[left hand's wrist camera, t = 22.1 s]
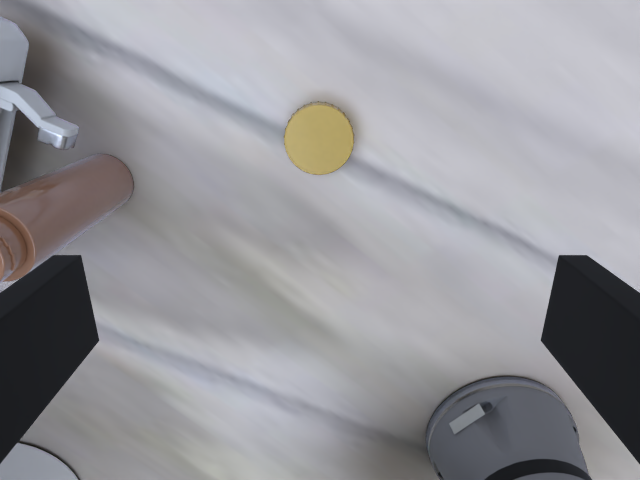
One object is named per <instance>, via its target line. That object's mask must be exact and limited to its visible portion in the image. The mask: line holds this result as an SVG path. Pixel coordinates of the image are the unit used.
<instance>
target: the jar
mask: <svg viewBox="0 0 640 480" xmlns="http://www.w3.org/2000/svg"><path fill="white" fill-rule="evenodd" d="M132 192H133V179H132V176H131V173H130V171H129V170H128V168H127V167H126V166H125V165H124V164H123V163H122V162H121V161H120V160H118V159H117V158H115V157H113V156H110V155H106V154H95V155H91V156H89V157H86V158H84V159H81V160H79V161H76V162H74V163H71V164H69V165H67V166H64V167H62V168H59V169H57V170H54V171H52V172H49V173H47V174H44V175H42V176H40V177H37V178H35V179H32V180H30V181H27V182H25V183H22V184H20V185H17V186H15V187H13V188H10V189H8V190H5V191H3V192H0V283H1V282H4V281H13V280H17V279H19V278H21V277H23V276H25V275H26V274H28V273H29V272H30V271H32V270H33V269H35V268H36V267H37V266H39V265H40V264H41V263H43V262H44V261H46V260H47V259H48V258H50V257H51V256H53V255H54V254H55V253H57V252H58V251H59V250H61V249H62V248H64V247H65V246H66V245H68V244H69V243H71V242H72V241H73V240H75V239H76V238H77V237H79V236H80V235H82V234H83V233H84V232H86V231H87V230H89V229H90V228H91V227H93V226H94V225H95V224H97V223H98V222H100V221H101V220H102V219H104V218H105V217H106V216H108V215H109V214H111V213H112V212H113V211H115V210H116V209H118V208H119V207H120V206H122V205H123V204H124V203H126V202H127V201H128V200H129V198H130V197H131V195H132Z"/></svg>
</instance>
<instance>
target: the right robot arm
mask: <svg viewBox="0 0 640 480" xmlns="http://www.w3.org/2000/svg"><path fill="white" fill-rule="evenodd" d="M28 48H29V42H28V40H27V38H26V37H25V35H24V34H23V32H22V31H21V30H20V28H19V27H18V25H17V24H15V23H14V22H12V21H10V20H8V19H5V18H3V17H0V192H1V187H2V181H3V176H4V171H5V166H6V161H7V156H8V151H9V146H10V140H11V135H12V130H13V125H14V120H15V115H16V111H18V110H21V111H22V112H23V113H24V114H25V115H26V116H27V117H28V118H29V119H30V120H31V121H32V122H33V123H34V124H35V125H36V126H37V127H38V128H39V132H38V138H37V140H38V141H41V142H43V143H45V144H50V143H51V144H52V145H53V147H55V148H58V149H61V150H68V149H69V148H70V147H71V148H73V147H74V145H75V142H76V138H77V135H78V131H79V127H78V126H77V125H75V124H73V123H70V122H68V121H66V120H63V119H61V118H59V117H56V114H55V112H54V111H53V110H52V109H51V108H50V107H49V105H48V104H47V103H46V102H45V101H44V100H43V98H42V97H41V96H40V95H39V94H38V93H37V91H36V90H34V89H32V88H29V87H27V86H25V85H22V79H23V73H24V68H25V63H26V58H27V53H28ZM0 480H78V478H77V477H76V475H75V474H74V473H73V472H72V471H71V470H70V468H69V467H67V466H66V465H65V464H64V463H63V462H62V461H60V460H59V459H57V458H56V457H54V456H53V455H51V454H49V453H47V452H45V451H43V450H40V449H38V448H35V447H32V446H29V445H25V444H21V443H17V444H16V445H15V446H14V447H13V449H12V450H11V451H10V452H9V454H8V455H7V456H6V457H5V459H4V460H3V461H2V462H1V464H0Z"/></svg>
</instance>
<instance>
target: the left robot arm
mask: <svg viewBox="0 0 640 480" xmlns="http://www.w3.org/2000/svg"><path fill="white" fill-rule="evenodd" d="M98 341H99V337H98V333H97V328H96V323H95V319H94V314H93V309H92V305H91V300H90V295H89V290H88V286H87V281H86V276H85V272H84V267H83V262H82V258H81V255H53V256H51V257H50V258H49V259H47V260H46V261H44V262H43V263H42V264H40V265H39V266H37V267H36V268H35V269H33V270H32V271H30V272H29V273H28V274H26V275H25V276H23V277H22V278H21V279H19V280H18V281H16V282H15V283H14V284H12V285H11V286H9V287H8V288H7V289H5V290H4V291H2V292H1V293H0V464H1V462H2V461H3V460H4V459H5V457H6V456H7V455H8V454H9V452H10V451H11V450H12V449H13V447H14V446H15V445H16V444H17V442H18V441H19V440H20V439H21V438H22V436H23V435H24V434H25V433H26V431H27V430H28V429H29V428H30V426H31V425H32V424H33V423H34V421H35V420H36V419H37V418H38V416H39V415H40V414H41V413H42V411H43V410H44V409H45V408H46V406H47V405H48V404H49V403H50V401H51V400H52V399H53V398H54V396H55V395H56V394H57V393H58V391H59V390H60V389H61V388H62V386H63V385H64V384H65V383H66V381H67V380H68V379H69V378H70V376H71V375H72V374H73V373H74V371H75V370H76V369H77V368H78V366H79V365H80V364H81V363H82V361H83V360H84V359H85V358H86V356H87V355H88V354H89V353H90V351H91V350H92V349H93V348H94V346H95V345H96V344H97V343H98ZM541 341H542V343H543V344H544V345H545V346H546V348H547V349H548V350H549V351H550V353H551V354H552V355H553V356H554V358H555V359H556V360H557V361H558V363H559V364H560V365H561V366H562V368H563V369H564V370H565V371H566V373H567V374H568V375H569V376H570V378H571V379H572V380H573V381H574V383H575V384H576V385H577V386H578V388H579V389H580V390H581V391H582V393H583V394H584V395H585V396H586V398H587V399H588V400H589V401H590V403H591V404H592V405H593V406H594V408H595V409H596V410H597V411H598V413H599V414H600V415H601V416H602V418H603V419H604V420H605V421H606V423H607V424H608V425H609V426H610V428H611V429H612V430H613V431H614V433H615V434H616V435H617V436H618V438H619V439H620V440H621V441H622V442H623V444H624V445H625V446H626V447H627V449H628V450H629V451H630V452H631V454H632V455H633V456H634V457H635V459H636V460H637V461H638V462H639V464H640V293H639V292H638V291H636V290H635V289H633V288H632V287H631V286H629V285H628V284H626V283H625V282H624V281H622V280H621V279H619V278H618V277H617V276H615V275H614V274H612V273H611V272H610V271H608V270H607V269H605V268H604V267H603V266H601V265H600V264H598V263H597V262H596V261H594V260H593V259H591V258H590V257H589V256H587V255H559V258H558V262H557V267H556V272H555V276H554V281H553V286H552V290H551V295H550V300H549V305H548V309H547V314H546V319H545V323H544V328H543V333H542V337H541ZM426 446H427V451H428V454H429V458H430V461H431V464H432V466H433V468H434V470H435V472H436V474H437V476H438V477H439V479H440V480H592V479H591V477H590V476H589V474H588V470H587V466H586V463H585V460H584V457H583V454H582V451H581V449H580V446H579V435H578V431H577V427H576V424H575V422H574V420H573V418H572V415H571V413H570V412H569V410H568V409H567V407H566V406H565V404H564V403H563V402H562V400H561V399H560V398H559V396H558V395H557V394H556V393H555V392H553V391H552V390H551V389H549V388H548V387H546V386H545V385H543V384H541V383H538V382H536V381H533V380H529V379H525V378H519V377H496V378H490V379H485V380H481V381H478V382H475V383H472V384H470V385H468V386H466V387H464V388H462V389H460V390H458V391H457V392H455V393H454V394H452V395H451V396H449V397H448V398H447V399H446V400H445V401H444V402H443V403H442V404H441V405H440V406H439V407H438V408H437V410H436V411H435V412H434V414H433V416H432V417H431V420H430V422H429V424H428V427H427V432H426Z"/></svg>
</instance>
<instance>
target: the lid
mask: <svg viewBox="0 0 640 480" xmlns="http://www.w3.org/2000/svg"><path fill="white" fill-rule="evenodd" d="M349 122H350V121H349V119H348V118H346V116H345V113H344V112H343V113H342V111H340V109H339V108H336V107H335V106H333V104H332V105H330V104H327V103H326V102H325V103H319V101H318V102H317V103H312V102H311V103H310V104H308V105H304V106H303V107H302V108H300V109H298V110H297V112H296V113H295V114H293V115H292V118H291V120H289V121H288V125H287V126H286V128H285V130H286V131H285V135H284V140H285V143H284V145H285V148H286V152H287V154H288V156H289V158H290V160H291V161H292V162H293V163H294V164H295V165H296V166H297V167H298V168H299V169H301V170H303V171H305V172H307V173H310V174H315V175H323V174H328V173H331V172H334V171H335V170H337V169H339V168H340V167H341V166H342V165H343V164H344V163H345V162H346V161H347V160H348V158H349V157H350V154H351V152H352V150H353V149H352V148H353V143H354V138H353V136H354V134H353V131H352V129H353V128H352V126H351V125H350V123H349Z"/></svg>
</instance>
